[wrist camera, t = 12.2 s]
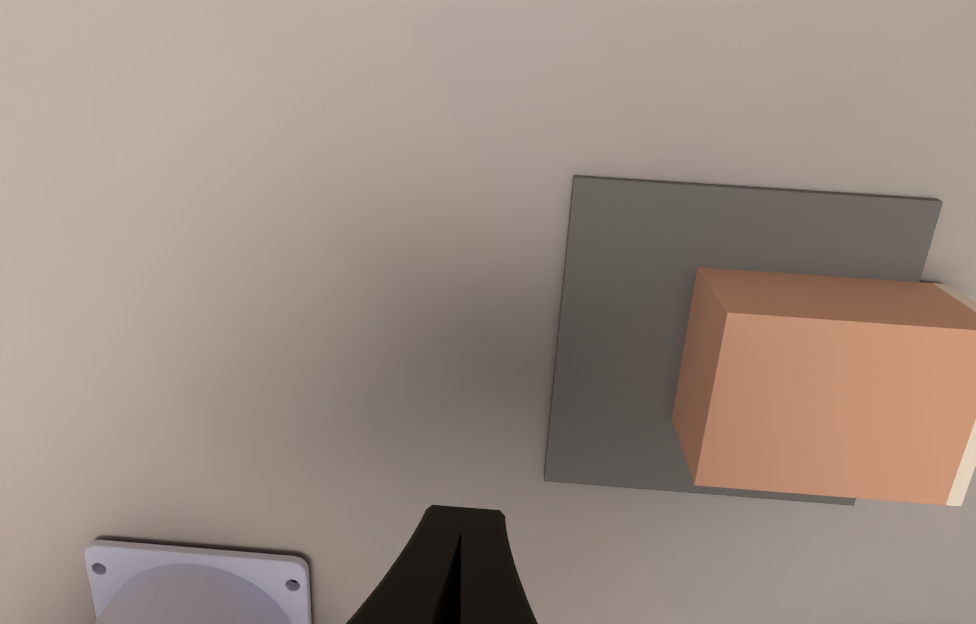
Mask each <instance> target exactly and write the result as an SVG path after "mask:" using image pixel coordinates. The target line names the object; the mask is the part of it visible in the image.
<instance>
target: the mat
mask: <svg viewBox="0 0 976 624" xmlns="http://www.w3.org/2000/svg"><path fill="white" fill-rule="evenodd" d="M942 203H943V201H941V200H938V199H929V198H914V197H898V196H883V195H868V194H852V193H837V192H821V191H806V190H791V189H775V188H760V187H744V186H729V185H714V184H698V183H683V182H667V181H652V180H637V179H621V178H606V177H590V176H575V175H574V177H573V187H572V198H571V208H570V218H569V228H568V238H567V249H566V259H565V269H564V279H563V289H562V300H561V310H560V320H559V330H558V341H557V351H556V361H555V371H554V381H553V392H552V402H551V412H550V422H549V432H548V443H547V453H546V463H545V473H544V481H550V482H563V483H575V484H588V485H601V486H613V487H626V488H638V489H651V490H664V491H676V492H689V493H701V494H714V495H727V496H739V497H752V498H764V499H777V500H790V501H802V502H815V503H827V504H840V505H853V506H854V503H855V500H856V498H848V497H836V496H823V495H810V494H798V493H785V492H772V491H760V490H747V489H734V488H722V487H709V486H697V485H694V483H693V480H692V477H691V474H690V471H689V468H688V465H687V462H686V459H685V456H684V454H683V451H682V448H681V445H680V442H679V439H678V436H677V433H676V430H675V427H674V425H673V422H672V413H673V407H674V401H675V396H676V390H677V384H678V378H679V372H680V366H681V360H682V354H683V349H684V343H685V337H686V331H687V325H688V319H689V313H690V308H691V302H692V296H693V290H694V284H695V278H696V272H697V267H706V268H720V269H735V270H749V271H764V272H778V273H793V274H807V275H822V276H836V277H851V278H865V279H880V280H894V281H909V282H920V278H921V275H922V271H923V268H924V265H925V261H926V258H927V254H928V251H929V248H930V244H931V241H932V237H933V234H934V230H935V227H936V224H937V220H938V217H939V213H940V210H941V207H942Z"/></svg>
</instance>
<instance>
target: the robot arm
mask: <svg viewBox="0 0 976 624" xmlns="http://www.w3.org/2000/svg"><path fill="white" fill-rule="evenodd" d="M84 558H85V563H86V569H87V574H88V579H89V584H90V589H91V594H92V600H93V605H94V610H95V615H96V621H95V623H94V624H312V621H311V601H310V580H309V567H308V564H307V563H306V561H305V560H303V559H302V558H300V557H296V556H288V555H276V554H264V553H252V552H240V551H228V550H216V549H204V548H193V547H181V546H169V545H157V544H145V543H133V542H121V541H109V540H95V541H93V542H91V543H90V544H89V545H88V547H87V548H86V549H85V551H84ZM99 563H100V564H99ZM101 564H102V565H104V566H105V567H104V566H102V565H101ZM291 579H293V580H296V581H297V582H298V583H294V582H292V581H291ZM346 624H538V623H537V621H536V619H535V617H534V615H533V612H532V610H531V607H530V605H529V603H528V600H527V597H526V595H525V592H524V589H523V587H522V584H521V581H520V579H519V576H518V573H517V570H516V567H515V564H514V560H513V557H512V553H511V549H510V546H509V541H508V537H507V531H506V524H505V516H504V515H503V513H502V512H501V511H500V510H489V509H477V508H465V507H452V506H440V505H432V506H430V507H429V508H428V509H426V511H425V513H424V515H423V517H422V519H421V521H420V523H419V525H418V527H417V528H416V530H415V532H414V533H413V535H412V537H411V538H410V540H409V542H408V543H407V545H406V546H405V548H404V549H403V551H402V552H401V554H400V555H399V557H398V558H397V560H396V561H395V562H394V564H393V565H392V567H391V568H390V569H389V571H388V572H387V574H386V575H385V576H384V578H383V579H382V581H381V582H380V583H379V585H378V586H377V587H376V588H375V590H374V591H373V592H372V593H371V594H370V596H369V597H368V598H367V599H366V601H365V602H364V603H363V604H362V605H361V607H360V608H359V609H358V610H357V612H356V613H355V614H354V615H353V616H352V617H351V619H350V620H349V621H348V622H347V623H346Z"/></svg>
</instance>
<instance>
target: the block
mask: <svg viewBox="0 0 976 624" xmlns="http://www.w3.org/2000/svg"><path fill="white" fill-rule="evenodd" d="M672 422H673V425H674V427H675V430H676V433H677V436H678V439H679V442H680V445H681V448H682V451H683V454H684V456H685V459H686V462H687V465H688V468H689V471H690V474H691V477H692V480H693V483H694V485H697V486H709V487H722V488H734V489H747V490H760V491H772V492H785V493H798V494H810V495H823V496H836V497H848V498H861V499H873V500H886V501H899V502H911V503H924V504H937V505H949V506H961V505H962V502H963V499H964V497H965V494H966V491H967V488H968V485H969V483H970V480H971V477H972V474H973V472H974V469H975V466H976V303H975V302H973V301H972V300H970V299H969V298H967V297H966V296H964V295H963V294H961V293H959V292H958V291H956V290H955V289H953V288H952V287H950V286H949V285H947V284H938V283H923V282H909V281H894V280H880V279H865V278H851V277H836V276H822V275H807V274H793V273H778V272H764V271H749V270H735V269H720V268H706V267H697V272H696V278H695V284H694V290H693V296H692V302H691V308H690V313H689V319H688V325H687V331H686V337H685V343H684V349H683V354H682V360H681V366H680V372H679V378H678V384H677V390H676V396H675V401H674V407H673V413H672Z"/></svg>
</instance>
